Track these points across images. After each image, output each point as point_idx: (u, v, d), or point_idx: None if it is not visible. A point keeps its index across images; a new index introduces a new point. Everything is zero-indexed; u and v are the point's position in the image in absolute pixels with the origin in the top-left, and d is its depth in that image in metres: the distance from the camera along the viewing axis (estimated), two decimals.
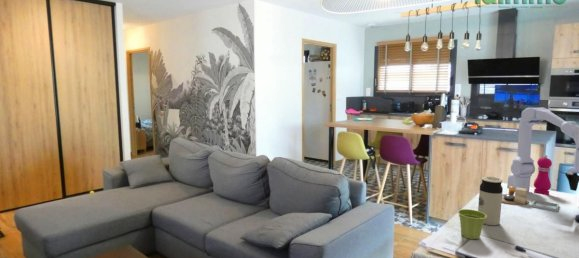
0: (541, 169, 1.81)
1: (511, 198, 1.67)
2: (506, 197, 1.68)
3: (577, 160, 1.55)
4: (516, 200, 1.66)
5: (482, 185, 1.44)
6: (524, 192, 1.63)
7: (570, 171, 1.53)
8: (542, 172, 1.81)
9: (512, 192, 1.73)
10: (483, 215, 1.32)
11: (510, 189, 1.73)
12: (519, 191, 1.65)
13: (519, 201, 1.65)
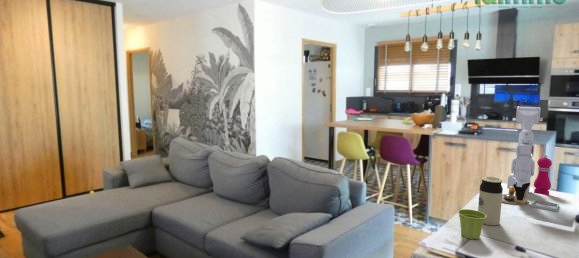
0: (541, 169, 1.81)
1: (511, 198, 1.67)
2: (506, 197, 1.68)
3: None
4: (516, 200, 1.66)
5: (482, 185, 1.44)
6: None
7: None
8: (542, 172, 1.81)
9: (512, 192, 1.73)
10: (483, 215, 1.32)
11: (510, 189, 1.73)
12: None
13: (519, 201, 1.65)
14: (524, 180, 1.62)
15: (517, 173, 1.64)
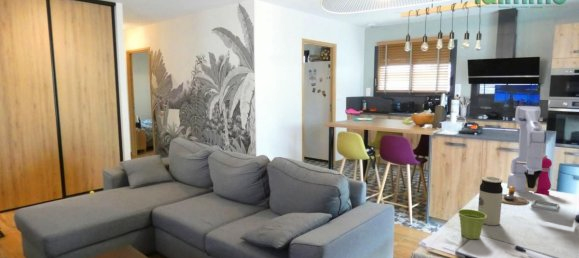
0: None
1: (511, 198, 1.67)
2: (506, 197, 1.68)
3: None
4: (527, 188, 1.62)
5: (482, 185, 1.44)
6: None
7: None
8: (542, 172, 1.81)
9: (512, 192, 1.73)
10: (483, 215, 1.32)
11: (510, 189, 1.73)
12: None
13: (530, 189, 1.62)
14: (536, 167, 1.59)
15: (528, 160, 1.61)
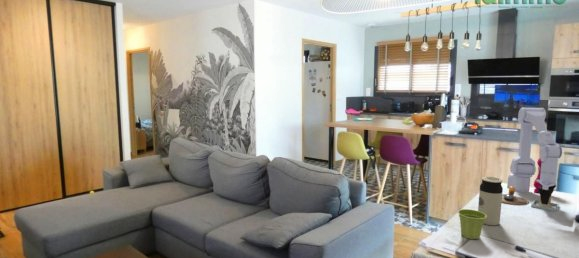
0: None
1: (511, 198, 1.67)
2: (506, 197, 1.68)
3: None
4: None
5: (482, 185, 1.44)
6: (549, 199, 1.58)
7: None
8: None
9: (512, 192, 1.73)
10: (483, 215, 1.32)
11: (510, 189, 1.73)
12: None
13: None
14: (550, 182, 1.56)
15: (542, 175, 1.58)
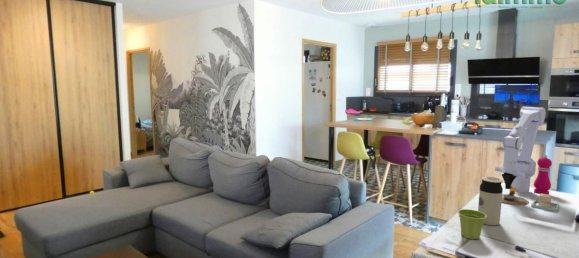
0: (541, 169, 1.81)
1: (511, 198, 1.67)
2: (506, 197, 1.69)
3: None
4: None
5: (482, 185, 1.44)
6: (549, 199, 1.58)
7: None
8: (542, 172, 1.81)
9: (513, 192, 1.72)
10: (483, 215, 1.32)
11: (511, 189, 1.73)
12: (543, 197, 1.59)
13: None
14: (516, 170, 1.71)
15: (511, 165, 1.70)
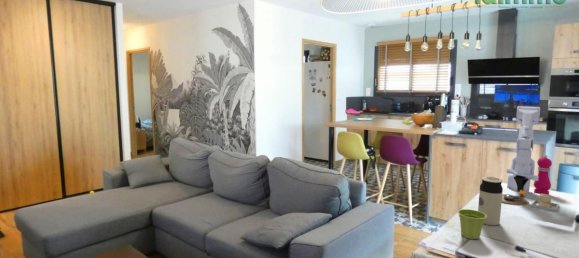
0: (541, 169, 1.81)
1: (507, 197, 1.68)
2: (504, 196, 1.70)
3: None
4: None
5: (482, 185, 1.44)
6: (549, 199, 1.58)
7: None
8: (542, 172, 1.81)
9: (520, 195, 1.68)
10: (483, 215, 1.32)
11: None
12: (543, 197, 1.59)
13: None
14: (529, 173, 1.67)
15: (524, 168, 1.66)
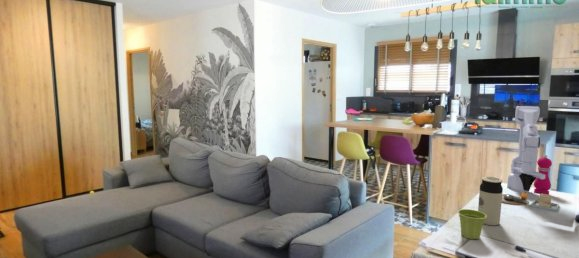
0: (541, 169, 1.81)
1: (504, 196, 1.70)
2: None
3: None
4: None
5: (482, 185, 1.44)
6: (549, 199, 1.58)
7: None
8: (542, 172, 1.81)
9: None
10: (483, 215, 1.32)
11: None
12: (543, 197, 1.59)
13: None
14: (535, 171, 1.64)
15: (530, 166, 1.63)
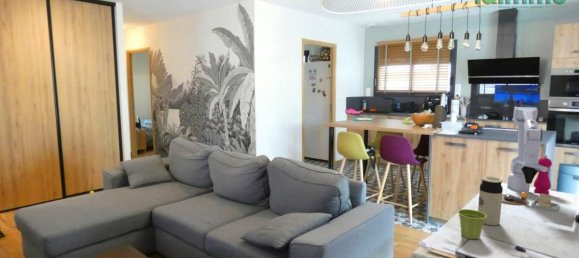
0: None
1: (504, 196, 1.70)
2: None
3: None
4: None
5: (482, 185, 1.44)
6: (549, 199, 1.58)
7: None
8: (542, 172, 1.81)
9: None
10: (483, 215, 1.32)
11: None
12: (543, 197, 1.59)
13: None
14: (538, 164, 1.65)
15: (532, 159, 1.64)
